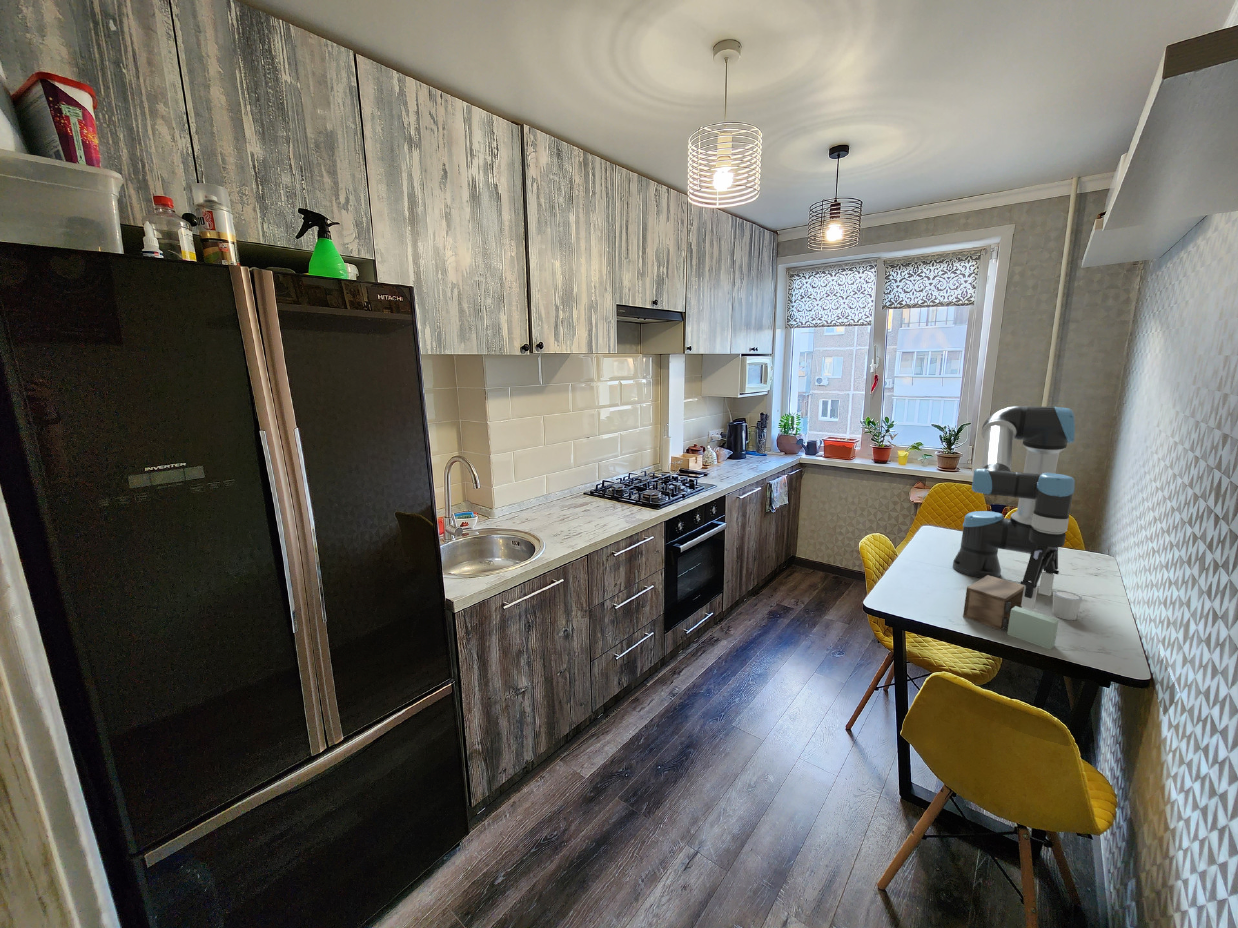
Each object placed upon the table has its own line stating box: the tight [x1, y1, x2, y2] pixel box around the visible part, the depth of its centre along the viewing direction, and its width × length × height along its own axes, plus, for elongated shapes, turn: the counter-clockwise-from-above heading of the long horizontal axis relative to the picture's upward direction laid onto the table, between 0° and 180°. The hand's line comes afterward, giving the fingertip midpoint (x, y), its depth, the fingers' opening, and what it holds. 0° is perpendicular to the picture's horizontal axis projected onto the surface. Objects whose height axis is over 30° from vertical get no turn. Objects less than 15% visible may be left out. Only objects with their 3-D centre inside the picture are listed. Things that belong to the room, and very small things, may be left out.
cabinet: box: [962, 575, 1024, 631], centre depth 156 cm, size 11×16×10 cm
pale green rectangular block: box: [1006, 606, 1060, 650], centre depth 143 cm, size 4×10×8 cm, turn 35°
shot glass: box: [1052, 590, 1083, 621], centre depth 157 cm, size 7×7×7 cm
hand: (1036, 600), depth 142 cm, fingers open, 13 cm apart
